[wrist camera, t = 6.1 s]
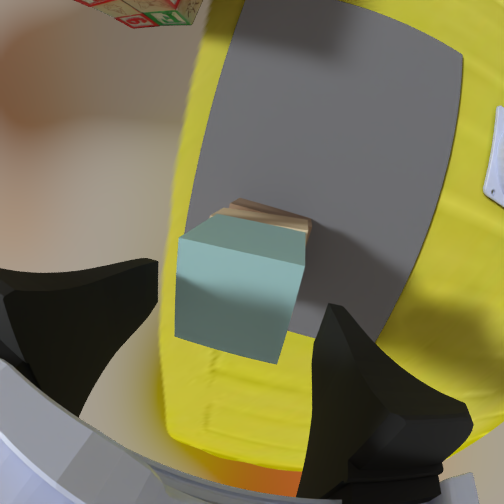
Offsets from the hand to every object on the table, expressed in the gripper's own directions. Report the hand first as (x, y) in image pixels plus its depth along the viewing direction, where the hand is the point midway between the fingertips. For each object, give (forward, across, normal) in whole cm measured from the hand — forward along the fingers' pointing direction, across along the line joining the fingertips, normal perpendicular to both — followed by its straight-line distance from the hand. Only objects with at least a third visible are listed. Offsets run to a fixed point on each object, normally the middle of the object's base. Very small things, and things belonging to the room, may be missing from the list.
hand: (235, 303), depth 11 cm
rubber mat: (+9, -3, -6) cm, 11 cm away
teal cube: (+4, 0, 0) cm, 4 cm away
